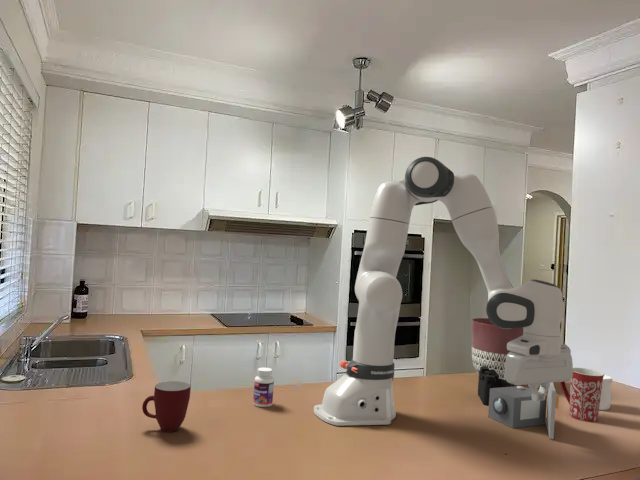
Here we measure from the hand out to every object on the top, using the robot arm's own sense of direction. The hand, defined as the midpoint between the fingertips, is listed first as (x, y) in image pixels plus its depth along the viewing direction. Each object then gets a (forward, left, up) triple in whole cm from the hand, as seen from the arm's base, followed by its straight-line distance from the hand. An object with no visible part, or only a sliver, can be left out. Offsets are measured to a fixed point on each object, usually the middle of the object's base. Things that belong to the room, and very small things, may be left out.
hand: (538, 400), depth 128 cm
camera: (+14, +28, -10) cm, 33 cm away
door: (+8, +3, -9) cm, 13 cm away
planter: (+32, +47, -10) cm, 57 cm away
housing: (+6, +12, -10) cm, 16 cm away
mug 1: (-86, +30, -10) cm, 92 cm away
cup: (+43, +17, -10) cm, 47 cm away
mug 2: (+29, +11, -10) cm, 32 cm away
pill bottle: (-58, +42, -10) cm, 72 cm away
